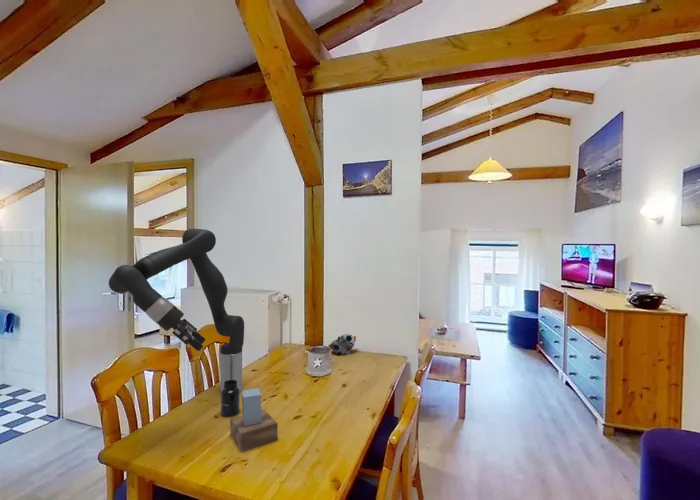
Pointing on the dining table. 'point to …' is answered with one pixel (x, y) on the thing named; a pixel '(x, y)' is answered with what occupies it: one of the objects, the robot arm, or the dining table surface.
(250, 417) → the blue-gray rectangular block
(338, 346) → the grey toy figure
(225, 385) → the supplement bottle
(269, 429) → the walnut box
